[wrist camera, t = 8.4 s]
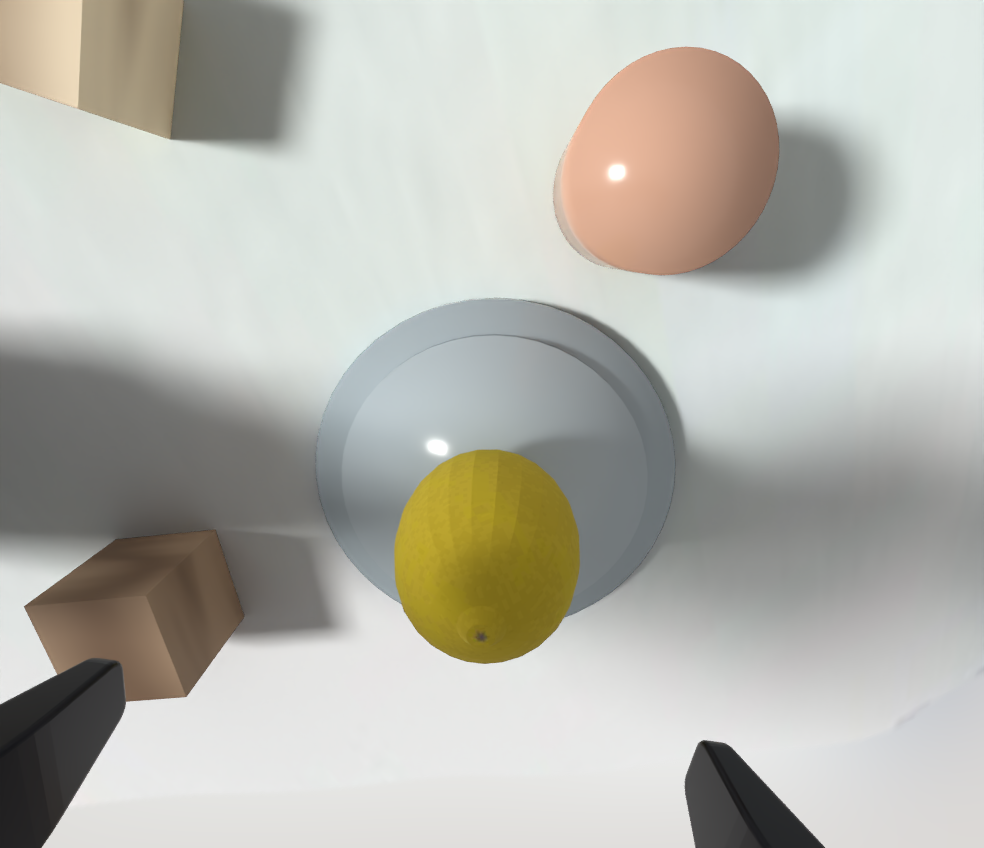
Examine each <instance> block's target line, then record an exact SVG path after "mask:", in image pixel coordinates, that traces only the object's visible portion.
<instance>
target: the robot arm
mask: <svg viewBox="0 0 984 848" xmlns="http://www.w3.org/2000/svg"><path fill="white" fill-rule="evenodd" d="M125 705H126V695H125V685H124V675H123V667H122V665H121V663H120V662H119V661H116V660H109V659H102V658H91V659H87V660H85V661H83V662H81V663H79V664H77V665H75V666H73V667H71V668H69V669H68V670H66V671H64V672H62V673H60V674H58V675H56V676H54V677H52V678H50V679H48V680H46V681H44V682H42V683H41V684H39V685H37V686H35V687H33V688H31V689H29V690H27V691H25V692H23V693H21V694H19V695H17V696H16V697H14V698H12V699H10V700H8V701H6V702H4V703H2V704H0V848H42V846H43V845H44V843H45V842H46V840H47V839H48V837H49V836H50V835H51V833H52V832H53V830H54V828H55V827H56V825H57V824H58V822H59V821H60V819H61V817H62V816H63V814H64V813H65V811H66V809H67V808H68V806H69V804H70V803H71V801H72V799H73V798H74V796H75V794H76V793H77V791H78V789H79V788H80V786H81V784H82V783H83V781H84V779H85V778H86V776H87V774H88V773H89V771H90V769H91V768H92V766H93V764H94V763H95V761H96V759H97V758H98V756H99V754H100V753H101V751H102V749H103V748H104V746H105V744H106V743H107V741H108V739H109V738H110V736H111V734H112V733H113V731H114V729H115V728H116V726H117V724H118V723H119V721H120V719H121V717H122V715H123V713H124V709H125ZM685 795H686V800H687V805H688V811H689V816H690V821H691V826H692V831H693V836H694V842H695V847H696V848H825V847H824V846H823V845H822V844H821V843H820V842H819V841H818V839H817V838H816V837H815V836H814V835H813V834H812V833H811V832H810V831H809V830H808V829H807V828H806V827H805V826H804V824H803V823H802V822H801V821H800V820H799V819H798V818H797V817H796V816H795V815H794V814H793V813H792V812H791V811H790V809H788V807H787V806H786V805H785V804H784V803H783V802H782V801H781V800H780V799H779V798H778V797H777V796H776V795H775V793H773V791H772V790H771V789H770V788H769V787H768V786H767V785H766V784H765V783H764V782H763V781H762V780H761V779H760V777H759V776H758V775H757V774H756V773H755V772H754V771H753V770H752V769H751V768H750V767H749V766H748V765H747V764H746V762H745V761H744V760H743V759H742V758H741V757H740V756H739V755H738V754H737V753H736V752H735V751H734V750H733V749H732V748H731V747H730V746H729V745H727V744H725V743H722V742H714V741H707V740H703V741H701V742H700V743H698V745H697V747H696V750H695V753H694V755H693V758H692V761H691V763H690V766H689V769H688V771H687V774H686V778H685Z"/></svg>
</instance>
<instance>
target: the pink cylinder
mask: <svg viewBox="0 0 984 848" xmlns="http://www.w3.org/2000/svg"><path fill="white" fill-rule="evenodd" d="M778 159H779V136H778V129H777V123H776V119H775V115H774V112H773V109H772V106H771V104H770V102H769V99H768V97H767V95H766V94H765V92H764V90H763V89H762V87H761V86H760V84H759V83H758V82H757V80H756V79H755V78H754V77H753V76H752V74H751V73H750V72H749V71H747V70H746V69H745V68H744V67H743V66H742V65H740V64H739V63H737V62H736V61H734V60H733V59H731V58H729V57H728V56H725V55H723V54H720V53H718V52H716V51H712V50H708V49H704V48H696V47H678V48H670V49H665V50H661V51H657V52H654V53H652V54H649V55H647V56H644V57H642V58H640V59H638V60H637V61H635V62H633V63H631V64H630V65H628V66H627V67H625V68H624V69H623V70H621V71H620V72H619V73H617V74H616V75H615V76H614V77H613V78H612V79H611V80H610V81H609V82H608V83H607V84H606V85H605V86H604V87H603V89H602V90H601V91H600V92H599V93H598V95H597V96H596V97H595V99H594V100H593V102H592V103H591V105H590V107H589V108H588V110H587V111H586V113H585V115H584V117H583V119H582V120H581V122H580V124H579V126H578V127H577V129H576V131H575V133H574V135H573V136H572V138H571V140H570V142H569V143H568V145H567V147H566V149H565V151H564V153H563V155H562V157H561V159H560V161H559V164H558V167H557V170H556V174H555V179H554V187H553V203H554V210H555V215H556V218H557V222H558V224H559V227H560V229H561V231H562V233H563V235H564V236H565V238H566V240H567V241H568V242H569V244H570V245H571V246H572V247H573V248H574V249H575V250H576V251H577V252H578V253H579V254H580V255H582V256H583V257H584V258H586V259H587V260H589V261H591V262H593V263H595V264H598V265H600V266H603V267H608V268H612V269H619V270H625V271H632V272H638V273H645V274H653V275H673V274H679V273H684V272H689V271H692V270H695V269H698V268H701V267H703V266H705V265H707V264H709V263H711V262H713V261H715V260H716V259H718V258H720V257H721V256H723V255H724V254H726V253H727V252H728V251H729V250H731V249H732V248H733V247H734V246H736V245H737V244H738V243H739V242H740V241H741V239H742V238H743V237H744V236H745V235H746V234H747V233H748V232H749V230H750V229H751V228H752V227H753V225H754V224H755V223H756V221H757V219H758V218H759V216H760V215H761V213H762V211H763V209H764V207H765V205H766V203H767V201H768V199H769V197H770V194H771V191H772V188H773V185H774V182H775V177H776V173H777V169H778Z"/></svg>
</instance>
